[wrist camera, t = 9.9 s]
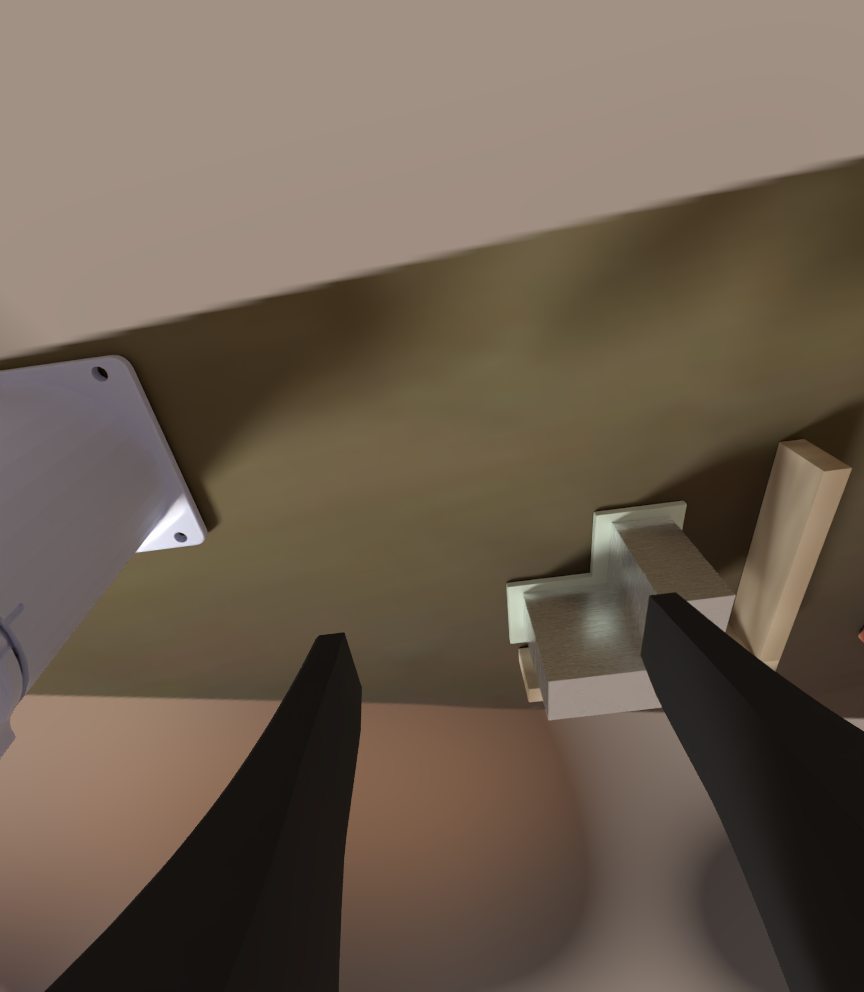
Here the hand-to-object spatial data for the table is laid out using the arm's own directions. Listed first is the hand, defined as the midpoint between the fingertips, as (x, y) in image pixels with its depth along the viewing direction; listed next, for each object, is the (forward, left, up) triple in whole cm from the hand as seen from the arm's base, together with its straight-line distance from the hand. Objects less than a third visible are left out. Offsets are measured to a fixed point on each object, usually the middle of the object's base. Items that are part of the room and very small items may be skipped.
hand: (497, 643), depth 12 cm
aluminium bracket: (+6, -7, -9) cm, 13 cm away
